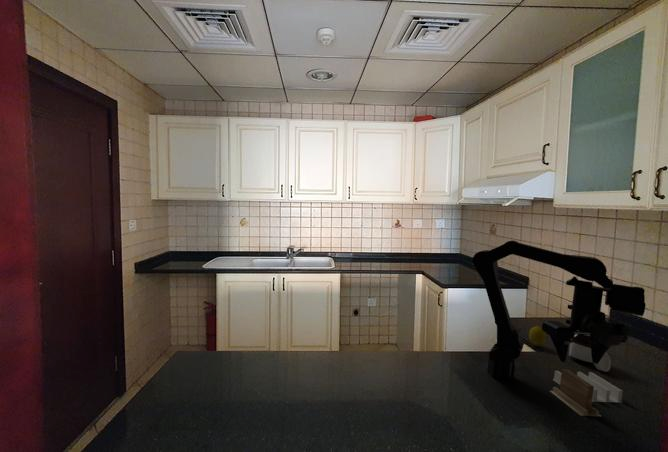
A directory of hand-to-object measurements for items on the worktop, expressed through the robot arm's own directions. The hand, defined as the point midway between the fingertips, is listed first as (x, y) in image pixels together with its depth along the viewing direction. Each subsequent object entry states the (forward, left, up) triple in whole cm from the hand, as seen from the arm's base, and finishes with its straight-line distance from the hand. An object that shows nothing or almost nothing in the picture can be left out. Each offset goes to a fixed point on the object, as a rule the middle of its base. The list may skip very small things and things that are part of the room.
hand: (578, 362), depth 78 cm
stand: (0, 0, -12) cm, 12 cm away
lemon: (+17, +36, -12) cm, 41 cm away
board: (0, 0, -11) cm, 11 cm away
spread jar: (+27, +24, -12) cm, 38 cm away
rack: (+9, +6, -12) cm, 16 cm away
